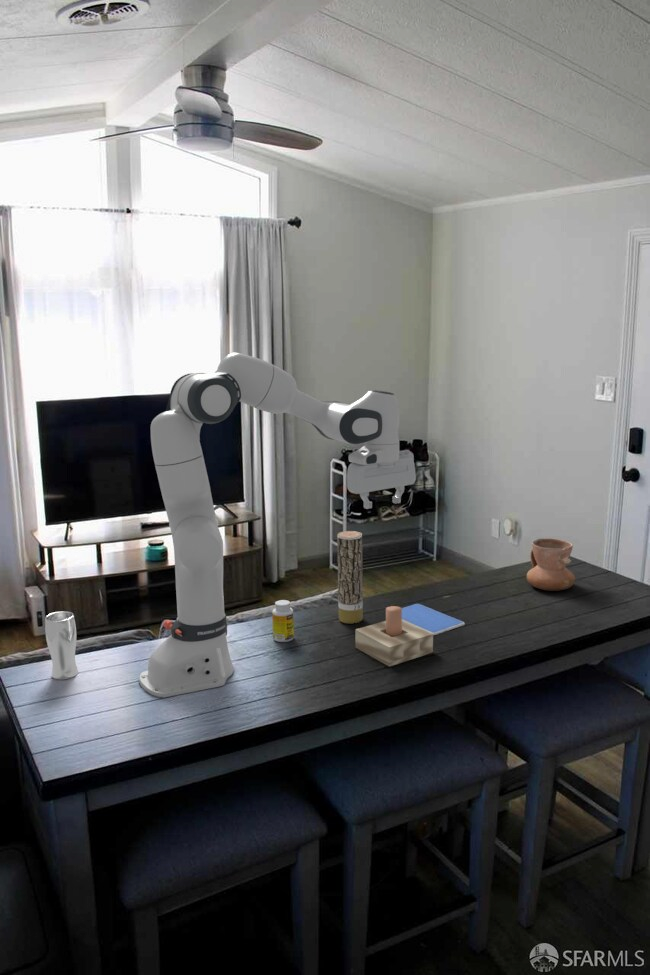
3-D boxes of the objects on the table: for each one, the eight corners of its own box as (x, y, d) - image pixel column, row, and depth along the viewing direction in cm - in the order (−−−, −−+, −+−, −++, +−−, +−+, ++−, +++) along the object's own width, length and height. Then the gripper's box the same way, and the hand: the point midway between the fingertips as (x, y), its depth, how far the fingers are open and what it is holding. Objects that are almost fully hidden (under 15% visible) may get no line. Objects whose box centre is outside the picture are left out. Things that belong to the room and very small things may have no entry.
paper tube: (336, 623, 221) (334, 537, 216) (341, 614, 228) (340, 530, 222) (360, 625, 220) (359, 538, 214) (364, 616, 226) (364, 531, 221)
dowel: (392, 650, 200) (392, 613, 198) (382, 645, 204) (382, 608, 202) (404, 646, 203) (404, 609, 201) (395, 641, 206) (395, 604, 204)
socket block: (389, 666, 194) (389, 647, 193) (355, 647, 205) (355, 629, 204) (432, 652, 202) (433, 633, 200) (397, 634, 213) (397, 617, 212)
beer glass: (81, 666, 197) (76, 609, 194) (78, 679, 190) (72, 620, 187) (52, 669, 196) (46, 612, 193) (47, 682, 189) (41, 622, 186)
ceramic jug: (587, 592, 242) (589, 547, 239) (546, 598, 237) (548, 552, 235) (551, 576, 259) (553, 533, 256) (513, 581, 254) (514, 538, 251)
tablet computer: (466, 626, 219) (466, 621, 219) (433, 637, 212) (433, 633, 212) (417, 606, 235) (417, 602, 234) (385, 616, 227) (385, 612, 227)
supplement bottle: (288, 644, 208) (287, 607, 206) (269, 641, 210) (268, 604, 208) (297, 636, 213) (296, 600, 211) (278, 633, 215) (277, 597, 213)
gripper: (405, 447, 213) (405, 497, 216) (343, 456, 202) (343, 509, 205) (421, 450, 208) (420, 501, 211) (357, 459, 197) (358, 513, 200)
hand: (382, 505), depth 208 cm, fingers open, 8 cm apart
